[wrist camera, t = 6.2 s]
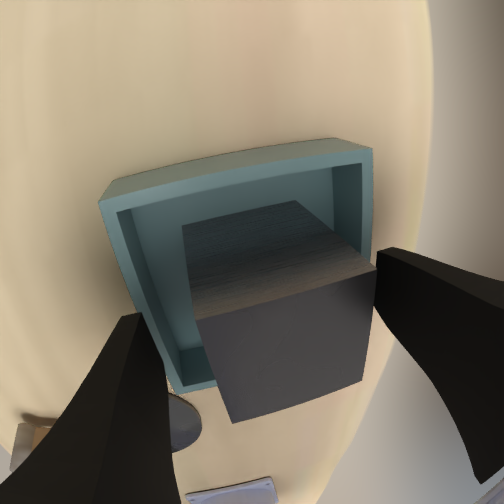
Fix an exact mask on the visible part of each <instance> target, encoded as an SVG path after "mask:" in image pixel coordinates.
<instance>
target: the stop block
mask: <svg viewBox="0 0 504 504" xmlns="http://www.w3.org/2000/svg"><path fill="white" fill-rule="evenodd" d="M182 234H183V242H184V250H185V257H186V265H187V272H188V279H189V286H190V292H191V299H192V305H193V311H194V317H195V322H196V325H197V328H198V331H199V334H200V337H201V340H202V343H203V346H204V349H205V352H206V355H207V357H208V360H209V363H210V366H211V369H212V372H213V374H214V377H215V380H216V383H217V385H218V388H219V391H220V393H221V396H222V399H223V401H224V404H225V406H226V409H227V412H228V414H229V417H230V419H231V422H232V424H233V423H237V422H241V421H245V420H248V419H252V418H256V417H259V416H263V415H266V414H270V413H273V412H276V411H280V410H283V409H286V408H289V407H292V406H295V405H298V404H301V403H304V402H307V401H310V400H313V399H316V398H318V397H321V396H324V395H327V394H329V393H332V392H335V391H337V390H340V389H342V388H345V387H347V386H350V385H352V384H355V383H357V382H360V381H362V377H363V372H364V367H365V361H366V355H367V349H368V342H369V336H370V329H371V322H372V314H373V306H374V297H375V288H376V278H377V268H376V267H374V266H373V265H372V264H371V263H370V262H369V261H368V260H366V259H365V258H364V257H363V256H362V255H361V254H360V253H359V252H357V251H356V250H355V249H354V248H353V247H352V246H350V245H349V244H348V243H347V242H346V241H345V240H343V239H342V238H341V237H340V236H339V235H338V234H336V233H335V232H334V231H333V230H332V229H330V228H329V227H328V226H327V225H326V224H324V223H323V222H322V221H321V220H320V219H318V218H317V217H316V216H315V215H313V214H312V213H311V212H310V211H309V210H307V209H306V208H305V207H304V206H302V205H301V204H300V203H299V202H297V201H296V200H293V201H288V202H283V203H278V204H273V205H269V206H264V207H260V208H255V209H250V210H246V211H241V212H237V213H233V214H228V215H224V216H219V217H215V218H211V219H207V220H202V221H198V222H194V223H190V224H186V225H182Z"/></svg>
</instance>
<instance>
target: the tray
mask: <svg viewBox="0 0 504 504" xmlns="http://www.w3.org/2000/svg"><path fill="white" fill-rule="evenodd" d="M293 200H296V201H297V202H299V203H300V204H301V205H302V206H304V207H305V208H306V209H307V210H309V211H310V212H311V213H312V214H313V215H315V216H316V217H317V218H318V219H320V220H321V221H322V222H323V223H324V224H326V225H327V226H328V227H329V228H330V229H332V230H333V231H334V232H335V233H336V234H338V235H339V236H340V237H341V238H342V239H343V240H345V241H346V242H347V243H348V244H349V245H350V246H352V247H353V248H354V249H355V250H356V251H357V252H359V253H360V254H361V255H362V256H363V257H364V258H365V259H366V260H368V261H369V262H370V256H371V239H372V213H373V153H372V148H369V147H366V146H362V145H359V144H356V143H352V142H348V141H345V140H341V139H337V138H328V139H319V140H311V141H303V142H295V143H288V144H281V145H274V146H268V147H262V148H256V149H250V150H244V151H238V152H233V153H228V154H222V155H217V156H212V157H207V158H202V159H198V160H193V161H188V162H184V163H179V164H175V165H171V166H167V167H162V168H158V169H154V170H150V171H146V172H142V173H139V174H135V175H131V176H127V177H124V178H120V179H116V180H113V181H112V183H111V184H110V185H109V187H108V188H107V190H106V191H105V192H104V194H103V195H102V197H101V198H100V200H99V201H98V204H99V207H100V210H101V214H102V217H103V220H104V223H105V226H106V229H107V232H108V236H109V239H110V241H111V244H112V247H113V250H114V253H115V256H116V259H117V261H118V264H119V267H120V270H121V272H122V275H123V278H124V280H125V283H126V285H127V288H128V290H129V293H130V296H131V298H132V300H133V303H134V305H135V308H136V310H137V313H139V312H142V314H143V317H144V319H145V321H146V324H147V326H148V328H149V331H150V333H151V335H152V337H153V340H154V342H155V344H156V346H157V349H158V351H159V353H160V355H161V357H162V359H163V362H164V367H165V373H166V375H167V377H168V379H169V381H170V383H171V385H172V387H173V389H174V391H175V393H176V395H178V394H183V393H188V392H193V391H198V390H202V389H206V388H211V387H215V386H218V385H217V383H216V380H215V377H214V374H213V372H212V369H211V366H210V363H209V360H208V357H207V355H206V352H205V349H204V346H203V343H202V340H201V337H200V334H199V331H198V328H197V325H196V322H195V317H194V311H193V305H192V299H191V292H190V286H189V279H188V272H187V265H186V257H185V250H184V242H183V234H182V225H186V224H190V223H194V222H198V221H202V220H207V219H211V218H215V217H219V216H224V215H228V214H233V213H237V212H241V211H246V210H250V209H255V208H260V207H264V206H269V205H273V204H278V203H283V202H288V201H293Z"/></svg>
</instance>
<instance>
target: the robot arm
mask: <svg viewBox="0 0 504 504" xmlns="http://www.w3.org/2000/svg"><path fill="white" fill-rule="evenodd" d="M376 268H377V278H376V288H375V297H374V307H375V308H376V310H377V312H378V313H379V315H380V317H381V318H382V320H383V321H384V323H385V324H386V326H387V327H388V328H389V330H390V331H391V332H392V333H393V335H394V336H395V337H396V338H397V339H398V341H399V342H400V343H401V344H402V345H403V347H404V348H405V349H406V350H407V351H408V352H409V354H410V355H411V356H412V357H413V359H414V360H415V361H416V362H417V363H418V365H419V366H420V367H421V368H422V369H423V371H424V372H425V373H426V375H427V376H428V377H429V379H430V380H431V381H432V383H433V385H434V386H435V388H436V389H437V391H438V392H439V394H440V396H441V398H442V399H443V401H444V403H445V405H446V407H447V408H448V410H449V412H450V414H451V416H452V418H453V420H454V422H455V424H456V426H457V428H458V430H459V433H460V435H461V437H462V440H463V442H464V444H465V447H466V450H467V453H468V456H469V459H470V461H471V464H472V468H473V472H474V475H475V477H476V478H477V480H478V481H479V483H480V484H482V483H484V482H485V481H487V480H488V479H489V478H490V477H492V476H493V475H494V474H495V473H496V472H498V471H499V470H500V469H501V468H502V467H503V466H504V282H503V281H499V280H495V279H491V278H488V277H484V276H481V275H478V274H475V273H472V272H468V271H465V270H462V269H459V268H457V267H454V266H451V265H448V264H445V263H442V262H439V261H437V260H434V259H431V258H428V257H425V256H422V255H419V254H416V253H413V252H410V251H406V250H403V249H399V248H395V247H390V248H387V249H384V250H380V251H377V259H376ZM185 497H186V499H187V500H188V501H189V502H190V503H191V504H276V503H278V498H277V495H276V491H275V488H274V484H273V481H272V478H270V477H268V478H263V479H260V480H256V481H252V482H248V483H244V484H239V485H235V486H230V487H225V488H220V489H215V490H210V491H204V492H198V493H191V494H187V495H185ZM0 504H181V500H180V496H179V492H178V487H177V483H176V478H175V474H174V468H173V460H172V450H171V435H170V416H169V396H168V387H167V380H166V374H165V367H164V362H163V359H162V357H161V355H160V353H159V351H158V349H157V346H156V344H155V342H154V340H153V337H152V335H151V333H150V331H149V328H148V326H147V324H146V321H145V319H144V317H143V314H142V312H139V313H134V314H130V315H125V316H122V317H121V318H120V320H119V321H118V323H117V325H116V326H115V328H114V330H113V332H112V333H111V335H110V337H109V339H108V340H107V342H106V344H105V346H104V347H103V349H102V351H101V353H100V354H99V356H98V358H97V359H96V361H95V363H94V365H93V366H92V368H91V370H90V371H89V373H88V375H87V376H86V378H85V379H84V381H83V383H82V384H81V386H80V387H79V389H78V391H77V392H76V394H75V395H74V397H73V399H72V400H71V402H70V403H69V405H68V406H67V407H66V409H65V410H64V412H63V413H62V415H61V416H60V417H59V419H58V420H57V421H56V423H55V424H54V425H53V427H52V428H51V429H50V431H49V432H48V433H47V434H46V436H45V437H44V438H43V439H42V440H41V442H40V443H39V444H38V445H37V446H36V447H35V449H34V450H33V451H32V452H31V453H30V455H29V456H28V457H27V458H26V459H25V460H24V461H23V462H22V463H21V465H20V466H19V467H18V468H17V469H16V470H15V471H14V472H13V473H12V474H11V475H10V476H9V477H8V478H7V479H6V480H5V481H4V482H2V483H1V484H0ZM474 504H504V478H503V479H502V480H501V481H500V482H499V483H498V484H496V485H495V486H494V487H493V488H492V489H491V490H490V491H488V492H487V493H486V494H485V495H484V496H483V497H481V498H480V499H479V500H478V501H477V502H475V503H474Z"/></svg>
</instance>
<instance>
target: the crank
mask: <svg viewBox="0 0 504 504" xmlns="http://www.w3.org/2000/svg"><path fill="white" fill-rule="evenodd" d="M50 429H51V428H42V427H35V426H33V425H30V424H27V423H20V424H18V428H17V432H16V437H15V442H14V447H13V452H12V458H11V463H10V471H11V472H12V473H13V472H14V471H15V470H16V469H17V468H18V467H19V466H20V465H21V463H22V462H23V461H24V460H25V459H26V458H27V457H28V456H29V455H30V453H31V452H32V451H33V450H34V449H35V447H36V446H37V445H38V444H39V443H40V442H41V440H42V439H43V438H44V437H45V436H46V434H47V433H48V432H49V431H50Z"/></svg>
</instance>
